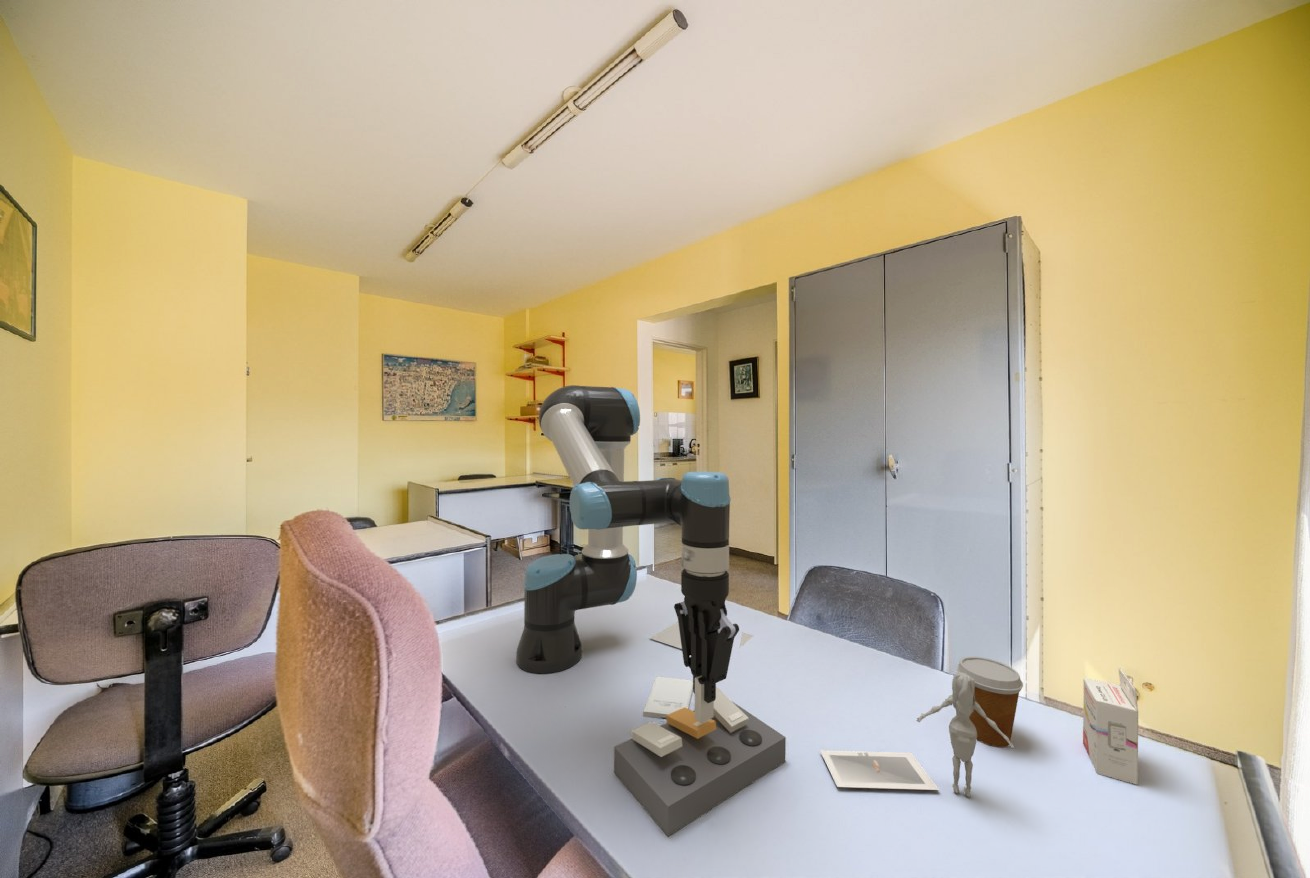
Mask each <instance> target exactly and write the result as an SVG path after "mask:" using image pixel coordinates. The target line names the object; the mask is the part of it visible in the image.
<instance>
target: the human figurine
mask: <svg viewBox="0 0 1310 878" xmlns="http://www.w3.org/2000/svg"><path fill="white" fill-rule="evenodd" d="M974 687H975V686H974V679H973V678H971V677H970V676H969V675H967V674H965V673H962V672H958V671H957V673H955V674H953V678H952V681H951V690H952V691H951V692H952V694H951V695H949V696H948V697H947V698H945V699H944V701H942V703H941V705H936V706H932V708H931V709H930V710H928V711H927V712H925V713H921V714H920V716H919V717H917V718H916V720H915V721H916V722H917V723H920V722H921V721H922V720H923V719H925V718H926V717H928V716H930V715H933V714H936V713H939V712H940V711H941V710H942V709H943V708H947V707H949V706H952V705H953V708H954V709H955V714H956V715H954V717H952V719H951V720H950V722H949V725H948V732H949V738H950V744H951V748H952V751H953V755H952V759H951V760H952V766H953V772H952V775H953V782H954V783H952V788H953V792H954V793H955V794H960V788H959V780H960V777H961V776H960V770H961V764H962V763H964V769H965V786H964V787H963V790H964V791H963V792H964V796H966V797H967V798H971V795H972V794H971V792H972V791H971V790H972V786H971V785H972V777H973V776H972V772H973V768H974V766H973V765H974V764H973V762H972V757H973V756H974V753H975V749H976V745H977V741H978V740H977V737H978V734H977V731H976V728H975V726H974V724H973V723H972V722H971V720H970V719H969V716H970V715H971V713H972V712H973V710H974V709H975V710H976V711H977V712H978V713H979V714H980V715H981V716H982V717H984V718H985V719H986V720H987V722H988V723H989V725H990V726H991V727H993V728H994V729H995V730H996V731H997V732H998V733H999V734H1001V735H1002V736H1003V737H1004V738H1005V740H1006V741H1007V742H1008V743H1009V745H1008V746H1010V747H1011V748H1012V749H1014V748H1015V746H1014V744H1013V743H1012V742H1011V741H1009V738H1008V737H1007V736H1006V735H1004V734H1003V733H1002V732H1001V731H1000V730H999V729H998V727H997V725H996V723H995V722H994V721H992V720H990V719H989V718H987V717H986V714H985V713H984V711H983V710H982V709H981V707H980V705H979V704H978V703H977V702H976V701H975V695H974Z"/></svg>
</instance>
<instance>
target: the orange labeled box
mask: <svg viewBox="0 0 1310 878" xmlns="http://www.w3.org/2000/svg"><path fill="white" fill-rule="evenodd" d="M665 719H666V723H668V724H670V725H672V726H674V727H676V728H678V729H680V730H682V731H684V732H685V733H687V734H689V735H691V736H693V737H695V738H697V739H698V738H700V737H702V736H704V735H706V734H708V733H710V732H712V731H714V730H716V721H714V720H712V719H709V720H707V721H705V722H703V723H700V722H698V721H697V720H696V719H695V712H694V710H692V709H690V708H689V709H687V708H685V707H684V708H682V709H680V710H677V711H675V712H673V713H670V714H668V715H666V718H665Z"/></svg>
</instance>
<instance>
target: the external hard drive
mask: <svg viewBox="0 0 1310 878" xmlns="http://www.w3.org/2000/svg"><path fill="white" fill-rule="evenodd" d="M692 695H693V680H690V679H682V678H673V677H663V676H656V677H655V679H654V682H653V684H652V687H651V690H650V693H649V695H648V698H647V701H646V704H645V707H644V709H643V711H642V716H643V717H649V718H656V719H667V718H666V715H668V714H670V713H673V712H675V711H677V710H680V709H682V708H684V707H685V708H687V709H690V705H691V700H692Z"/></svg>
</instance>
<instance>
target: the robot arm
mask: <svg viewBox="0 0 1310 878" xmlns="http://www.w3.org/2000/svg"><path fill="white" fill-rule="evenodd" d="M538 424H539V427H540V431H541V432H542V434H543V436H544V437H545V438H546V439H547V440H549V441H551V442H552V445H553V446H554V448H555V451H556V452H557V454H558V456H559V458H560V461H561V463H562V465H563V467H564V469H565V471H566V474H567V475H568V478H569V479H570V482H571V483H572V486H573V487H572V489H571V491H570V495H569V512H570V516H571V517H570V519H571V521H572V523H573V525H574V526H575V527H576V528H577V529H579V530H587V531H588V532H587V533H588V535H587V544H586V545H585V546H584V547H583V548H582V549H581V559H576V558H575V556H573V555H572V554H569V553H561V554H560V553H557V554H550V555H545V556H542V557H540V558H537V559H535V560H533V561H532V562H530V563H529V564H528V565H527V566H526V569H525V571H524V580H523V581H524V582H523V589H524V597H523V599H524V600H523V601H524V603H523V604H524V605H523V606H524V609H523V610H524V611H523V613H524V615H523V616H524V618H523V619H524V621H523V622H524V623H523V624H524V625H523V626H524V627H523V630H522V633H521V637H520V640H519V642H518V645H517V648H516V653H515V654H516V658H515V660H516V665H517V666H518V668H520V669H522V670H523V671H525V672H527V673H528V672H529V673H535V674H551V673H557V672H560V671H565V670H566V669H569V668H571V667H574V665H576V664H578V662H580V660H581V658H582V655H583V654H582V653H583V650H582V642H581V638H580V636H579V632H578V630H577V629H578V628H577V626H576V623H575V616H576V615H575V612H576V611H579V610H584V609H585V610H586V609H591V608H597V607H603V606H608V605H609V606H614V605H617V604H618V603H623V602H626V601H628V600H629V599H630V598H631V597H632V596H633V594H634V593H635V589H636V586H637V580H638V571H637V568H636V560H635V559H634V557H633V556H632V555H631V554H629V549H628V548H627V547H626V546H625V545H624V543H623V535H624V531H623V528H625V527H632V526H633V527H634V526H646V525H647V526H648V525H654V524H655V525H656V524H657V525H658V524H668V523H669V524H670V523H671V524H676V525H679V526H681V567H682V568H683V570H682V571H680V574H681V575H680V577H681V581H680V584H681V585H680V586H681V587H680V588H681V589H680V590H681V593H682V595H683V596H684V598H683V601H681V602H677V603H675V604H674V606H673V607H674V612H675V615H676V617H677V622H678V623H679V631H680V638H681V645H682V649H681V651H682V652H681V653H682V659H683V665H684V666H685V667H686V668H689V669H690V673H691V674H692V681H693V691H692V693H693V694H694V710H695V719H696V720H697V721H698V722H700V723H703V722H705V721H707V720H709V719H711V718H713V717H714V701H715V699H716V687H717V683H719V682H722V681H724V680H726V679H727V676H728V671H729V667H730V662H731V661H730V660H731V656H732V651H733V646H734V641H735V637H736V636H737V634H738V633H739V631H740V627H739V625H738V624H737V623H732V622H731V621H730V620H729V618H728V610H727V607H726V599H727V598H728V596H729V593H730V573H729V572H728V570H729V569H730V517H731V515H730V513H731V512H730V510H731V509H730V508H731V495H730V482H729V481H730V479H729V477H728V476H727V475H726V474H725V473H724V472H719V471H701V470H699V471H688V472H685V473H684V474H683V475H682V479H678V478H675V477H658V478H656V479H653V480H628V481H624V478H625V449H626V448H627V446H629V445H630V444H631V438H632V437H631V436H634V435H636V434H637V433H638V430H639V426H640V424H641V413H640V406H639V403H638V400H637V398H636V397H635V394H634V393H633V392H632V391H630V390H628V389H626V388H622V387H621V388H620V387H613V386H609V387H608V386H607V387H606V386H589V385H585V386H584V385H573V384H572V385H566V386H562V387H559V388H557V389H556V390H553V392H551V393H550V394H549V395H548V396H547V397H546V398H545V399H544V401H543V402H542V404H541V406H540V408H539V412H538Z"/></svg>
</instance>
